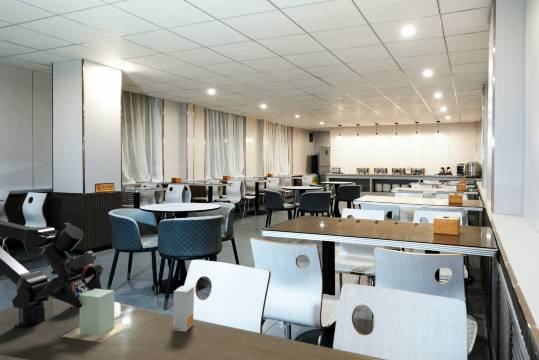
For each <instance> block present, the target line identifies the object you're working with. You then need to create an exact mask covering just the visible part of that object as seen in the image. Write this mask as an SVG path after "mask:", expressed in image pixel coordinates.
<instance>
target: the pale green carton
mask: <svg viewBox="0 0 539 360" xmlns="http://www.w3.org/2000/svg"><path fill="white" fill-rule="evenodd" d="M80 302H81V304H82V307H81V308H79V327H80V333H81V334H88V335H95V336H100V335H102V334H104V333H106V332H107V331H109V330H111V329H112V328H114V323H115V290H113V289H103V288H102V289H93V290H91V291H88V292H86V293H83V294H81V295H80Z"/></svg>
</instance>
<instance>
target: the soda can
mask: <svg viewBox="0 0 539 360" xmlns="http://www.w3.org/2000/svg"><path fill="white" fill-rule="evenodd" d="M93 265H94V263H93V264H90V265H87V266H85V267H86V269H85V270H84V271H82V273H84V272H85V271H86V270H87V269H88V268H89V267H90V266H93ZM85 285H86V284H85V283H83V282H82V281H79V282H76V283H73V284H72V290H73V292H74V293H75V295H76V296H77V298H78V299H79V300H80V295H81V294H83V293H86V292H88V291H91V290H89V289H88V288H87V287H86V286H85ZM69 305H70V307H71V308H74V309H75V308H77V307H75V306H73V305H71V304H69Z"/></svg>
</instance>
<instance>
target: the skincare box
mask: <svg viewBox="0 0 539 360" xmlns="http://www.w3.org/2000/svg"><path fill="white" fill-rule="evenodd" d="M194 296H195V286H188V285H187V286H186V285H180V286H179V287H177V288H176V290H173V308H172V309H173V314H172V315H173V317H172V321H173V323H172V327H173V328H172V331H173V332H188V330H189V329H190V328H191V327H193V326H194V307H195V306H194V301H195V299H194V298H195V297H194Z"/></svg>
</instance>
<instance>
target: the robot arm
mask: <svg viewBox="0 0 539 360" xmlns="http://www.w3.org/2000/svg"><path fill="white" fill-rule="evenodd" d="M84 236H85V234H84V231H83V230H82V229H81V228H79V227H78V226H76V225H73V224H71V222H65V223H63V224H62V225H61V227H60V228H59V230H56V228H54V227H52V226H38V227H37V226H36V227H33V226H32V227H31V226H26V225H23V224H18V223H13V222H9V221H6V220H5V219H0V240H1V239H2V238H3V237H6V238H9V239H14V240H18V241H21V242H23V244H24V245H25V246H27V247H30V248H31V249H35V250H36V249H41V248H45V249H44V250H42V251H39V252H38V257H37V261H39V262H40V261H46V262H47V263H48V264H49V266H50V267H51V269H52V271H51V272H50V273H51V274H52V275H53V276H54V275H57V277H54V278H52V279H51V280H50V277H48V276H46V275H45V274H44V273H43V272H42V271H40V270H39V271H35V272H30V271H29V270H27V268H25V266H24V265H22V264H20V262H19V261H17V260H16V259H15V258H13V257H12V256H11V255H10V254H9V253H8V252H7V251H5V250H4V249H3V248H2V246H0V273H2V274H3V275H4V276H5V277H6V278H7V279H9V281H11V282H12V283H13V284H15V290H16V296H14V298H13V299H12V300H11V302H12V306H13V308H16V309H18V322H17V323H15V324H14V326H15V327H17V328H18V327H20V328H26V329H27V328H28V329H30V328H32V327H35V326H36V325H40V324H41V323H43V322H44V323H45V321H48V318H45V317H46V316H45V315H46V314H45V313H46V309H45V308H44V307H45V303H44V302H48V301H49V299H50V298H51V299H53V300H54V299H55V300H57V301H61V302H64V303H66V304H69V305H70V304H71V305H73V306H75V307H76V308H77V309H80V308H81V307H82V304H81V302H80V300H79V299H78V298H77V296H76V295H75V293H74V292H73V290H72V284H73V283H76V282H79V281H82V282H83V283H85V284H86V285H85V286H86V287H87V288H88V289H89V290H93V289H103V288H102V284H101V280H100V279H101V275H102V274H103V271H104V270H105V269H104V268H103V267H102V265H101V264H95V263H96V262H95V260H97V256H96V255H97V254H95V253H94V252H93V251H92V250H89V251H88V250H87V251H86V252H83V254H82V255H80V256H71V255H70V254H69V252H71V251H73V250H74V249H75V248H76V246H77V245H78V244H80V242H81V240H82V239H83V238H84ZM90 264H93V266H90V267H89V268H88V269H87V270H86V271H85V272H84V273H82V271H84V270H85V269H86V267H85V266H87V265H90ZM71 305H70V306H71Z"/></svg>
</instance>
